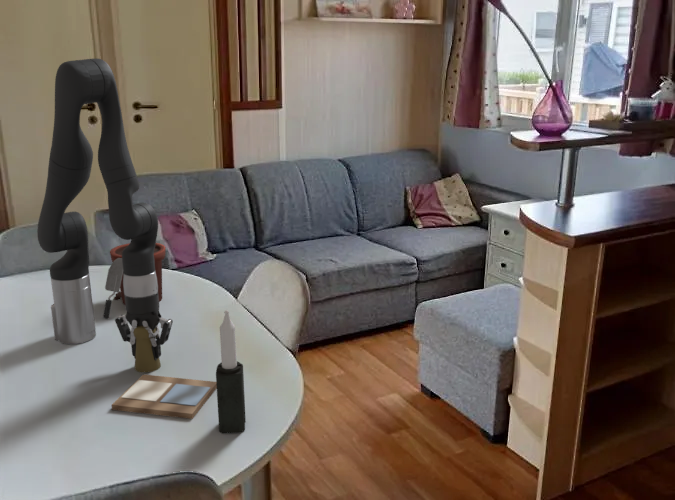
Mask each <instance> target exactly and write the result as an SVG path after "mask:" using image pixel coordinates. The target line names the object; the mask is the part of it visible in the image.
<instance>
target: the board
mask: <svg viewBox="0 0 675 500" xmlns="http://www.w3.org/2000/svg"><path fill="white" fill-rule="evenodd" d="M215 391H217V385H216V381H212V380H202V379H191V378H181V377H180V378H179V377H172V376H162V375H153V374H142V375H141V376H140V377H139V378H138V379H137V380H135V382H133V384H132V385H131V386H129V388H127V389H126V390H125V391H124V392H123V393H122V394H121V395H120V396H119V397H118V398H117V399H116V400H115V401H114V402H113V403H112V404H111V410H112V411H119V412H129V413H137V414H144V415H145V414H147V415H155V416H156V415H157V416H164V417H172V418H181V419H188V420H189V419H191V420H193V419H194V418H195V417H196V415H197V414H198V413H199V411H200V410H201V409H202V408H203V406H205V404H206V403H207V401H208V400H209V399H210V397H212V395H213V394H214V392H215Z"/></svg>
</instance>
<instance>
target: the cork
mask: <svg viewBox="0 0 675 500" xmlns="http://www.w3.org/2000/svg"><path fill="white" fill-rule="evenodd" d="M152 332H153V333H154V332H156V328H155V329H154V330H152ZM133 333H134V336H135V338H136V355H135V358H134V370H135V371H136V372H139V373H152V372H155V371H157V370H159V369H160V368H161V367H162V364H161V361H160V357H159V358H158V359H157V360H156V361H155V360H154V356H153V352H152V343H151V340H150V338H149V334H150V333H148V331H147V330H146V329H145V328H144V326H138V327H137V328H135V329H134V332H133Z"/></svg>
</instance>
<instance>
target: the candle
mask: <svg viewBox="0 0 675 500" xmlns="http://www.w3.org/2000/svg"><path fill="white" fill-rule="evenodd" d="M229 314H230V312H229V310H228V309H226V310H224V317H223V320H222V323H221V325H220V327H219V337H220V338H219V339H220V340H219V341H220V342H219V343H220V354H221V355H220V356H221V359H220V360H221V362H220V363H219V364H217V366H216V371H215V380H216V381H215V382H216V385H217V389H216V398H217V399H216V400H217V415H218V419H217V420H218V431H219V433H221V434H241V433H243V432H244V431H245V430H246V424H245V423H246V422H247V421H246V403H245V402H246V401H245V397H246V396H245V381H244V380H245V379H244V378H245V377H244V375H245V374H244V365H243V363H241V362H239V361H237V342H236V340H237V339H236V325H235V324H234V322H233V321H232V320H231V316H230V315H229Z"/></svg>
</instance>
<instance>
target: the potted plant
mask: <svg viewBox="0 0 675 500" xmlns="http://www.w3.org/2000/svg"><path fill="white" fill-rule="evenodd" d="M129 244H130V242H129V243H126V244H123V243H122V244H121V245H117V246H115V247H113V248H111V249H110V250H109V255H110V258H111V265H110V266H109V268H108V270H107V275H106V280H105V286H104V288H105V291H109V292H113V293H112V294H111V295H109V296H108V297H107V298H108V299H106V300H105V305H104V309H103V314H102V318H103V319H109V317H110V311H111V306H112V300H111V298H112V297H114V298H113V300H115V301H119V300H121V302H122V304H123V305H124V306H125V296H124V286H123V276H124V275H123V264H122V252H123V250H124V249H125V248H126V247H127V246H128V245H129ZM165 258H166V246H165V245H164V244H162V243H158V242H156V245H155V249H154V261H155V272H156V277H157V284H158V296H159V303H160V302H161V301H162V300H163V260H164V259H165Z"/></svg>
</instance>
